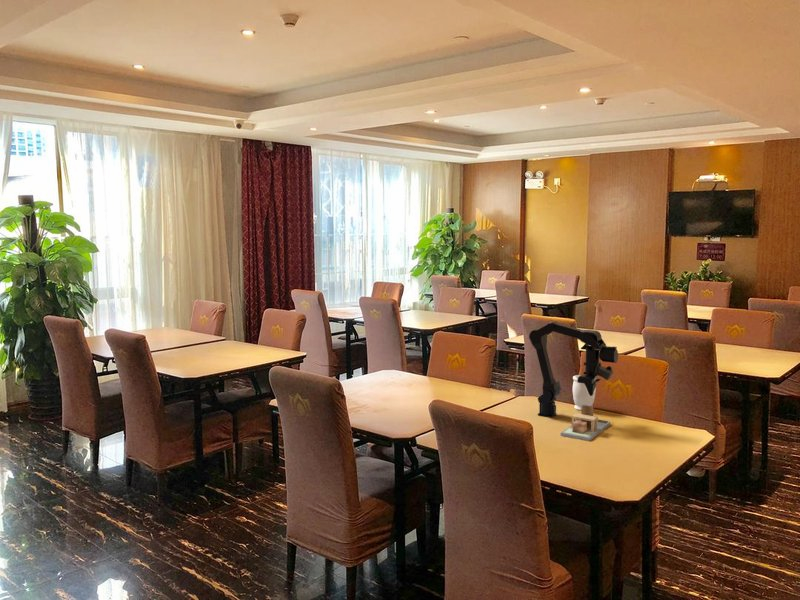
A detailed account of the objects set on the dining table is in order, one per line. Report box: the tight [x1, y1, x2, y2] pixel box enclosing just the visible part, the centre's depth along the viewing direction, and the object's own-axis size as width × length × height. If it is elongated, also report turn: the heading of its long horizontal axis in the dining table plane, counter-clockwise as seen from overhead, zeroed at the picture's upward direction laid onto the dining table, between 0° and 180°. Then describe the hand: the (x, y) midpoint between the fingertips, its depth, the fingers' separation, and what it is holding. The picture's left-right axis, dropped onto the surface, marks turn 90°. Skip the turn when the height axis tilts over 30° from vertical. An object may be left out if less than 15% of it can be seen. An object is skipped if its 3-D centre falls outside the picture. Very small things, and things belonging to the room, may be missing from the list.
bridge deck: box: [560, 412, 611, 442], centre depth 272 cm, size 12×26×6 cm, turn 144°
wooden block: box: [572, 405, 595, 434], centre depth 268 cm, size 5×11×9 cm, turn 144°
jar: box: [572, 374, 597, 411], centre depth 302 cm, size 11×10×15 cm
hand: (591, 395), depth 281 cm, fingers closed
